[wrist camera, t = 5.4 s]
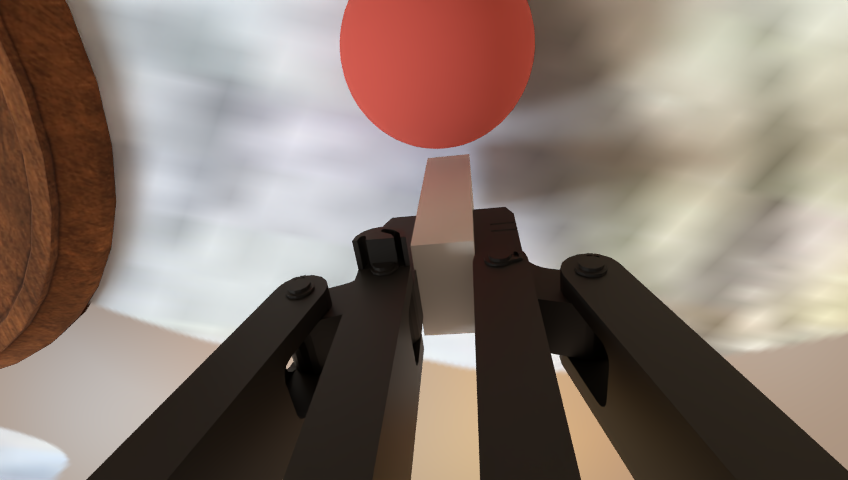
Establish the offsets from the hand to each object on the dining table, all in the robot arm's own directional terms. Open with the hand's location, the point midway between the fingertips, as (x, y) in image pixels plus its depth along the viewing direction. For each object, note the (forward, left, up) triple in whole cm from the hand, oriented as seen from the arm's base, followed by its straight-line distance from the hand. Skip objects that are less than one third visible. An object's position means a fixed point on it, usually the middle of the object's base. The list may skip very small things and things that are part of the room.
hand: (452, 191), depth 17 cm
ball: (-5, 0, +1) cm, 5 cm away
